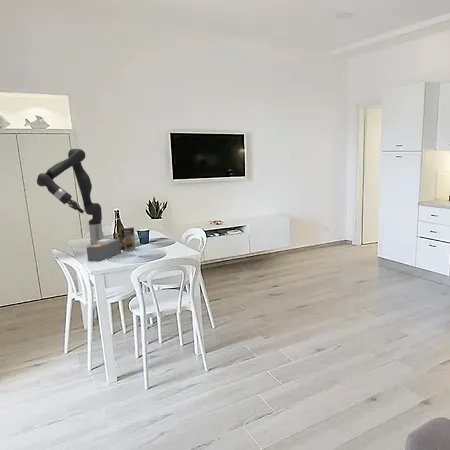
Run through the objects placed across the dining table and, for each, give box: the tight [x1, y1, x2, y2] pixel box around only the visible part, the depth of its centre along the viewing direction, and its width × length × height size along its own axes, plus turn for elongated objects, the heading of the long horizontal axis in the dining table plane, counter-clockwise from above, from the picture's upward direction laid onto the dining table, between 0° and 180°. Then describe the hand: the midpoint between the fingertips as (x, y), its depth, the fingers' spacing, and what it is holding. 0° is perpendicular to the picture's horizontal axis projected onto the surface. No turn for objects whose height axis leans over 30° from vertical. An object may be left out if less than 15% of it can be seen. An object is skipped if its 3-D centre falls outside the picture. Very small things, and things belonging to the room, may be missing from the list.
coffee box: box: [120, 227, 137, 252], centre depth 281 cm, size 9×6×16 cm
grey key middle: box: [97, 238, 110, 245], centre depth 265 cm, size 6×6×3 cm
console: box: [86, 239, 122, 262], centre depth 266 cm, size 25×9×9 cm, turn 161°
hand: (83, 212), depth 270 cm, fingers closed
